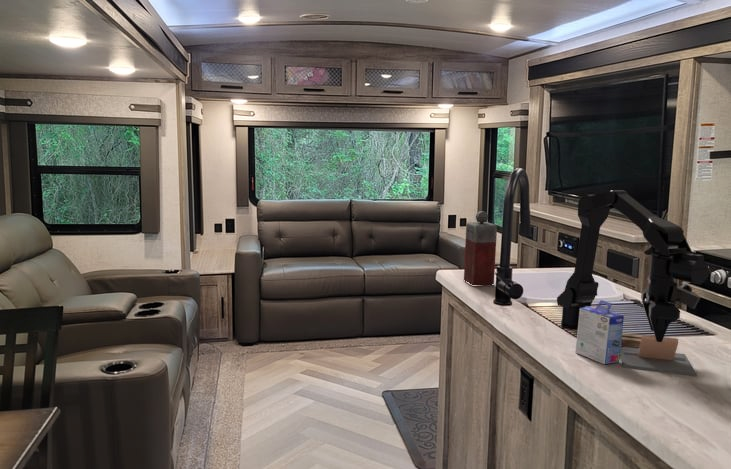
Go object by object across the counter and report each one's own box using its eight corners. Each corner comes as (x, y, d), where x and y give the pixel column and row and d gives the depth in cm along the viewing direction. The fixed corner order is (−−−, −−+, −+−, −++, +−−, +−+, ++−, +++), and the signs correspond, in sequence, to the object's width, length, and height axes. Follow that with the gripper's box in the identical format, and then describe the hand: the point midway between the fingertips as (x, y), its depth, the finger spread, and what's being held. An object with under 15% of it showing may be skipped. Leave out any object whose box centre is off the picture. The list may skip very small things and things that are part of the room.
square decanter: (482, 279, 237) (485, 209, 233) (494, 285, 227) (498, 212, 222) (461, 279, 236) (464, 209, 231) (472, 286, 225) (475, 212, 220)
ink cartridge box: (621, 362, 148) (626, 306, 146) (605, 365, 146) (610, 308, 144) (589, 350, 157) (594, 296, 155) (574, 353, 154) (578, 298, 152)
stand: (604, 343, 162) (605, 337, 162) (603, 337, 167) (603, 331, 167) (653, 349, 159) (653, 342, 158) (649, 342, 164) (650, 336, 164)
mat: (623, 367, 145) (623, 362, 145) (617, 348, 158) (618, 344, 158) (696, 376, 140) (697, 371, 140) (684, 356, 153) (685, 351, 153)
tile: (638, 356, 151) (642, 338, 146) (638, 352, 152) (642, 334, 147) (673, 360, 148) (678, 342, 144) (672, 356, 149) (677, 338, 145)
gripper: (707, 286, 136) (700, 352, 138) (690, 270, 154) (684, 329, 156) (654, 282, 139) (648, 346, 142) (643, 267, 157) (638, 324, 159)
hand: (656, 336), depth 150 cm, fingers open, 9 cm apart
